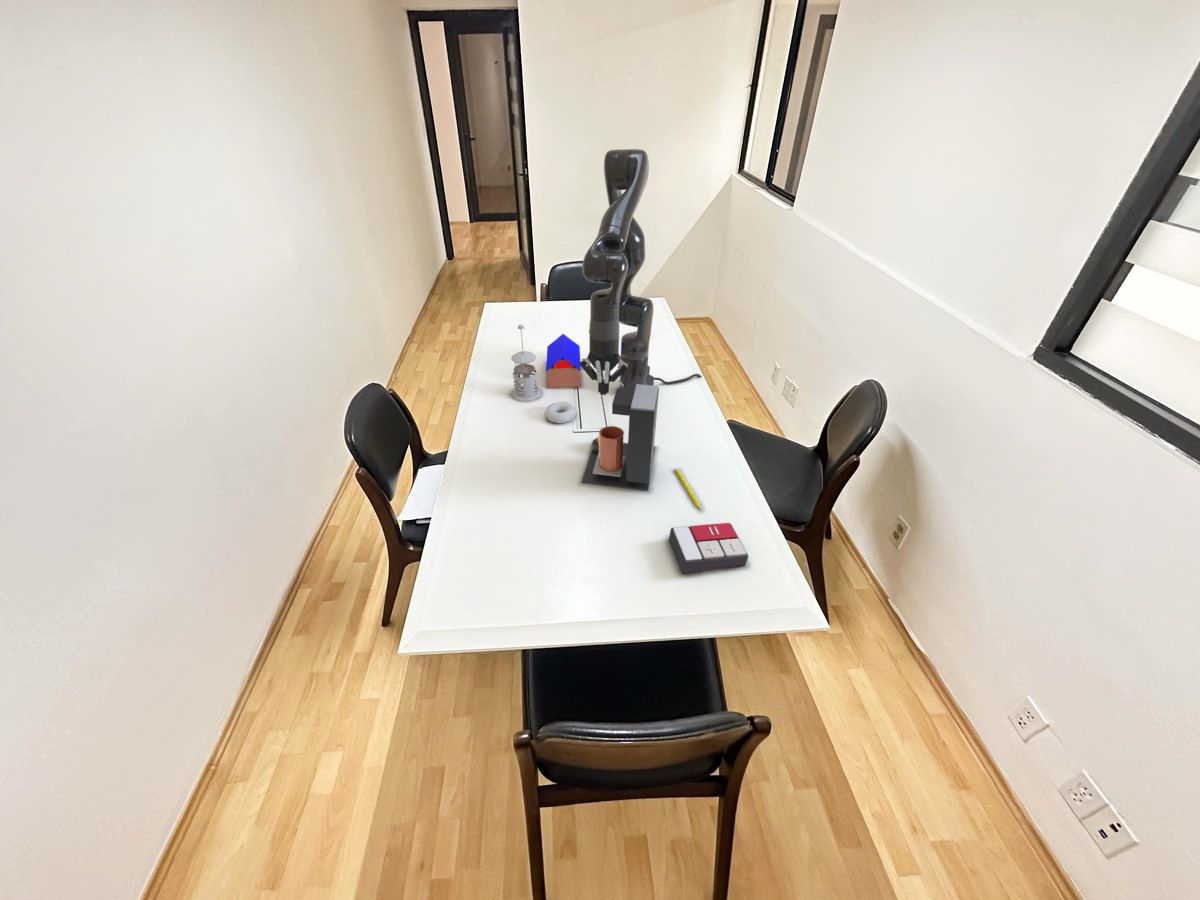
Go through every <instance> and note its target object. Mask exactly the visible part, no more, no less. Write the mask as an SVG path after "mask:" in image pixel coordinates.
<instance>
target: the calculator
mask: <svg viewBox="0 0 1200 900" xmlns="http://www.w3.org/2000/svg"><path fill="white" fill-rule="evenodd" d="M668 541H669V543H670V546H671V548H672V551H673V554H674V556H675V559H676V561H677V564H678V567H679V569H680V571H681V573H682V574H691V573H700V572H701V571H704V570H715V569H726V568H734V567H735V568H736V567H744V566H746V565H747V562H748V559H749V554H748V552H747V550H746V549H745V546H744V545H743V543H742V541H741V539H740V538H739V536H738V534H737V532H736V530H735V528H734V526H733V525H732V523H731V522H723V523H722V522H721V523H720V522H719V523H709V524H697V525H688V526H676V527H671V528H670V530H669V535H668Z"/></svg>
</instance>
